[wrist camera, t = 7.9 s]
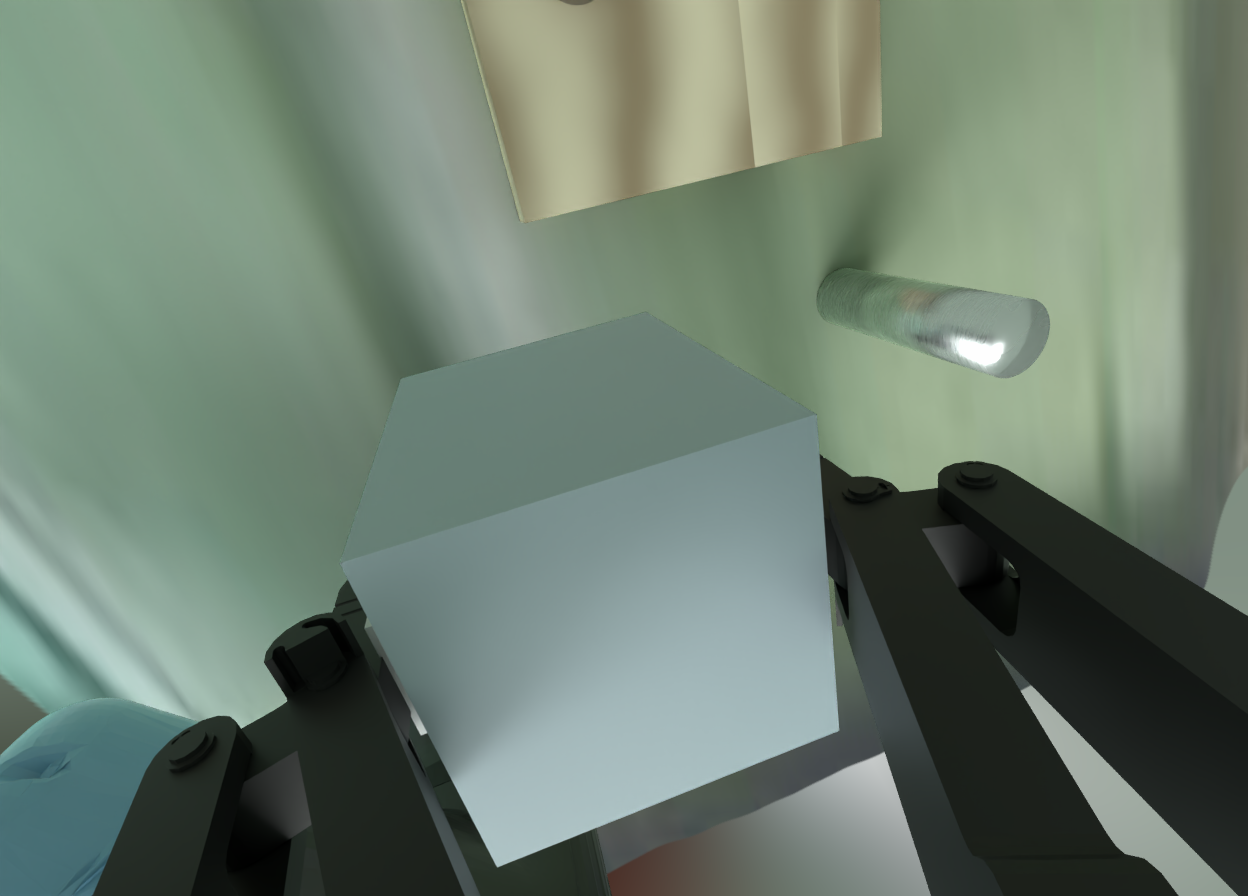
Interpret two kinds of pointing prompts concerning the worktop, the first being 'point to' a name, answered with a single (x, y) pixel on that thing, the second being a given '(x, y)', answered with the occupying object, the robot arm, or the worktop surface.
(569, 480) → the block
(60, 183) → the worktop surface
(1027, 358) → the peg
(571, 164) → the board
